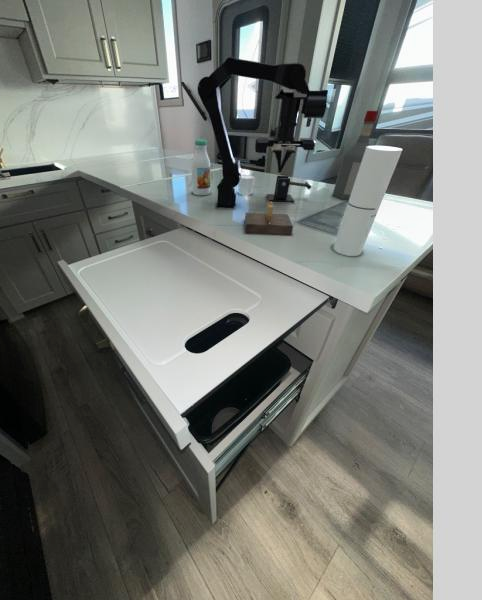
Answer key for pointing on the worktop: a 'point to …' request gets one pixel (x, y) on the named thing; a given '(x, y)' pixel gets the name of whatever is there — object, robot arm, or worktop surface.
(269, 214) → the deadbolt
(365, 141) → the liquor
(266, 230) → the brown flat block
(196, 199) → the worktop surface
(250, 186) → the shot glass
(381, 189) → the cylindrical container
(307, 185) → the latch
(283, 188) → the latch bracket
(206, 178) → the milk bottle
